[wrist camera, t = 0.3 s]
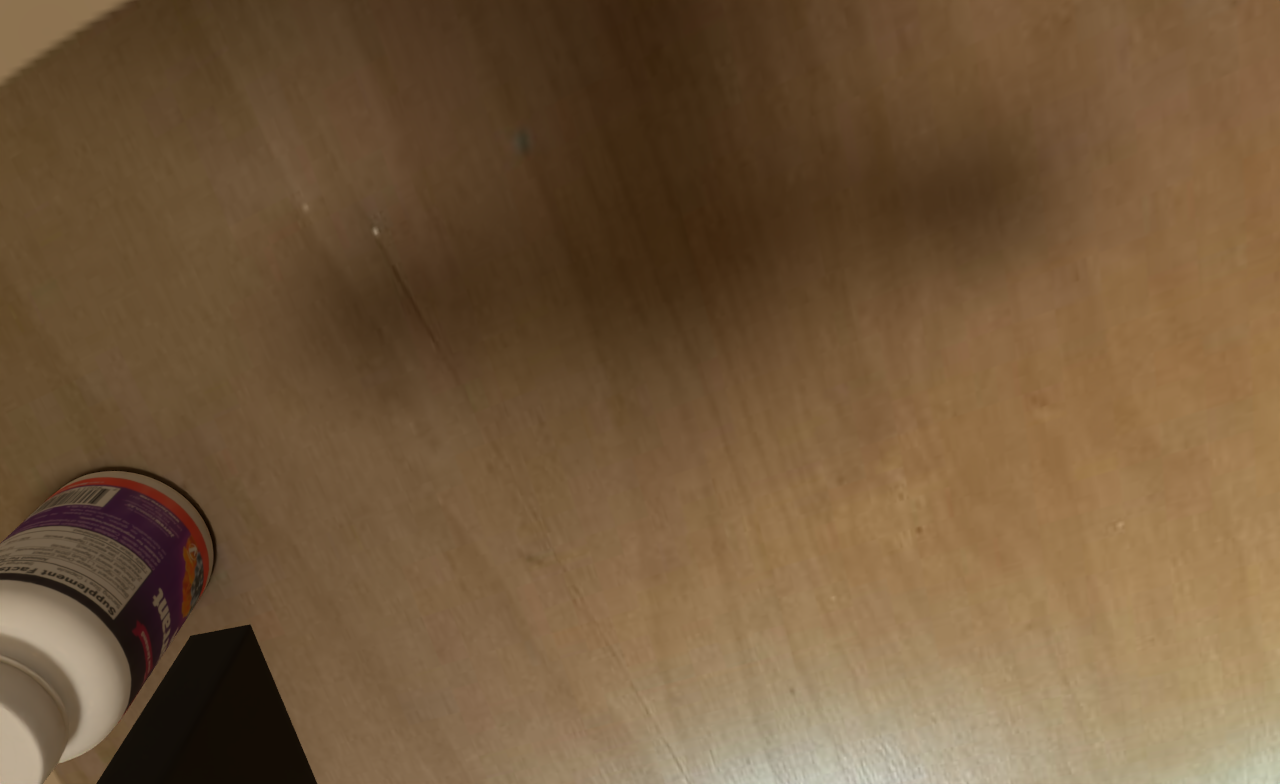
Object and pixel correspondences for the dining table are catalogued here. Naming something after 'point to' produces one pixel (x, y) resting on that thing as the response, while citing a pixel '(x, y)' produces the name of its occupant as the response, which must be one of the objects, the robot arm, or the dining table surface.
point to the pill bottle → (90, 612)
